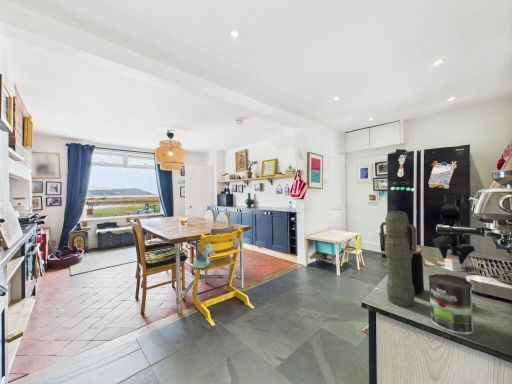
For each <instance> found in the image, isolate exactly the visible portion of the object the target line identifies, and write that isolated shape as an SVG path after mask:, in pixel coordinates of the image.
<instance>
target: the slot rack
mask: <svg viewBox="0 0 512 384" xmlns="http://www.w3.org/2000/svg"><path fill="white" fill-rule="evenodd" d="M448 258H453V259H456V260H459V258H458V257H454V256H452V255H449V254H447V256H446V259H448ZM422 260H423V266H438V265H439V266H440V265H441V266H442V265H444V266H445V262H444V258H443V257H441V256H438V255H434V258H431V257H428V256H425V255H424V256H423V259H422Z"/></svg>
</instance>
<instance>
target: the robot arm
mask: <svg viewBox="0 0 512 384" xmlns="http://www.w3.org/2000/svg"><path fill="white" fill-rule="evenodd" d="M463 196H464V195H463V194H461V193H458V192H456V191H454V192H452V191H451V192H446V193H445V194H443V202H444V203H445V205H443V206H442V207H441V209H440V211H439V221H440V222H443V223H442V225H449V226H455V227H460V228H461V223H460V222H461V221H462V212H461V210H460V208H461V207H462V203H463V202H464V197H463ZM431 244H432V245H434V247H436V248H438V250H439V252H440V254H441V256H442V258H444V259H446V256H447V255H448V256H453V257H454V256H456V257H457V258H458V259H459V263H460V264H461V265H462V264H463V263H464V262H465V260H466V259H467V257H468V256H469V255H470V254H472V253H475V251H476V249H475V248H476V247H474V245H471V244H468V239H467V238H466V236H464V235H462V234H442V233H441V234H440V236H438V237H435V238H432V240H431ZM449 247H450V251H451V253H448V250H449Z"/></svg>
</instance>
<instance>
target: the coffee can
mask: <svg viewBox="0 0 512 384" xmlns="http://www.w3.org/2000/svg"><path fill="white" fill-rule="evenodd" d="M427 279H428V284H429V289H428V290H429V300H430V301H429V303H430V304H429V306H430V307H429V308H430V309H429V310H430V318H429V319H430V322H431V323H433V324H434V325H435V326H436V327H437V328H439V329H441V330H444V331H447V332H449V333H453V334H456V335H457V334H458V335H472V334H473V333H474V317H473V315H474V314H473V312H474V311H473V296H472V295H473V293H472V292H473V291H472V288H473V285H472V283H471V282H470V281H468V280H466V279H464V278H462V277H458V276H454V275H448V274H443V273H442V274H440V273H438V274H436V273H435V274H429V276H428V277H427Z"/></svg>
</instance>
